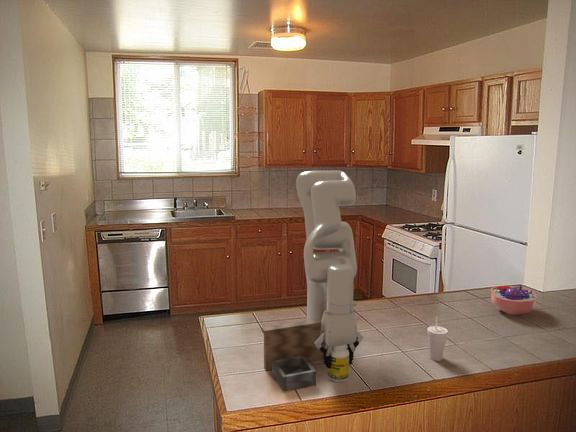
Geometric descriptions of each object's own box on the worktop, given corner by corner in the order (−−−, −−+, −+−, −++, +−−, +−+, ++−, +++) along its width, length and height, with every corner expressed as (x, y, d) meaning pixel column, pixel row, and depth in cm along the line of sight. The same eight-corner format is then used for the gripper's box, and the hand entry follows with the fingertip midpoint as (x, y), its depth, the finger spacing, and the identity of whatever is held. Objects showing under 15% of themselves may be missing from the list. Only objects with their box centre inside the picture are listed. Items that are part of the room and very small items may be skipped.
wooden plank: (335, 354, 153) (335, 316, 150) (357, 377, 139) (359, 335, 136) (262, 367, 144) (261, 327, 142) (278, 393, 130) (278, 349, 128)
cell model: (537, 308, 193) (540, 282, 191) (532, 325, 176) (535, 296, 174) (493, 300, 202) (495, 275, 200) (485, 315, 185) (487, 288, 183)
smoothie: (422, 353, 153) (424, 313, 151) (441, 352, 154) (444, 312, 151) (430, 363, 147) (432, 321, 145) (449, 362, 148) (452, 320, 145)
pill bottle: (325, 380, 137) (325, 345, 135) (331, 370, 142) (331, 336, 141) (345, 384, 135) (346, 348, 133) (351, 374, 140) (351, 339, 138)
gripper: (359, 298, 141) (358, 354, 144) (307, 306, 135) (306, 363, 138) (372, 307, 134) (370, 365, 137) (317, 315, 128) (316, 375, 131)
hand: (338, 364), depth 138 cm, fingers closed on pill bottle, 6 cm apart
